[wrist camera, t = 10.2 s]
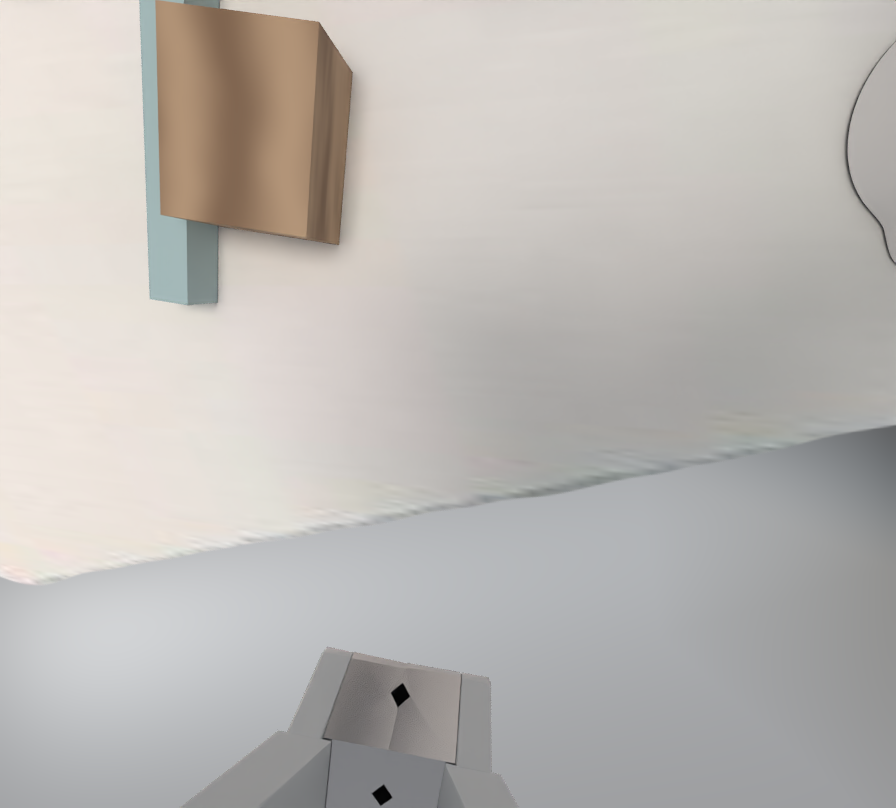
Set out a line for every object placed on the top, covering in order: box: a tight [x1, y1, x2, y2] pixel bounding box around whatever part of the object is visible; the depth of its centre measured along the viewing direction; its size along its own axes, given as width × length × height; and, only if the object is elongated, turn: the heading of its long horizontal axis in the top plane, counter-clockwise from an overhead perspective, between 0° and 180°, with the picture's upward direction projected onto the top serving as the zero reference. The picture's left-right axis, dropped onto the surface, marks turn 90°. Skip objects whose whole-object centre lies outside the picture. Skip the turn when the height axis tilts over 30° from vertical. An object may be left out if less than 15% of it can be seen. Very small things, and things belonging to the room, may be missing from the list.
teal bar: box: [139, 0, 219, 305], centre depth 33 cm, size 3×26×4 cm, turn 172°
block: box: [155, 0, 353, 245], centre depth 32 cm, size 10×12×7 cm
